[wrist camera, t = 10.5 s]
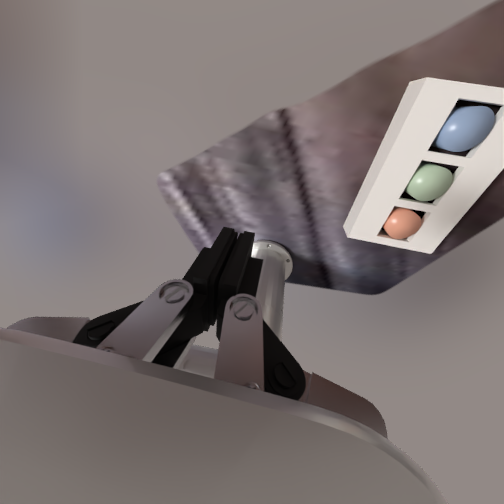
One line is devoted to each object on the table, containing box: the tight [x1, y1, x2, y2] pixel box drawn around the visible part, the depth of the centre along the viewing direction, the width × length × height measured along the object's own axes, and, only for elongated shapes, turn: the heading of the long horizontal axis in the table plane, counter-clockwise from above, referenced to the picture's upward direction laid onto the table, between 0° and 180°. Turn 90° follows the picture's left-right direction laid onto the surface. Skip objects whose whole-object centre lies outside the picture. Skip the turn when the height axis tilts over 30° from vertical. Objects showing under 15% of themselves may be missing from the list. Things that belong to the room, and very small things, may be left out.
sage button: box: [404, 161, 453, 201], centre depth 29 cm, size 5×5×4 cm
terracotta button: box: [382, 206, 421, 239], centre depth 32 cm, size 5×5×4 cm
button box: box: [343, 77, 504, 254], centre depth 29 cm, size 21×14×4 cm, turn 173°
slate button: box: [431, 106, 495, 152], centre depth 25 cm, size 5×5×4 cm
